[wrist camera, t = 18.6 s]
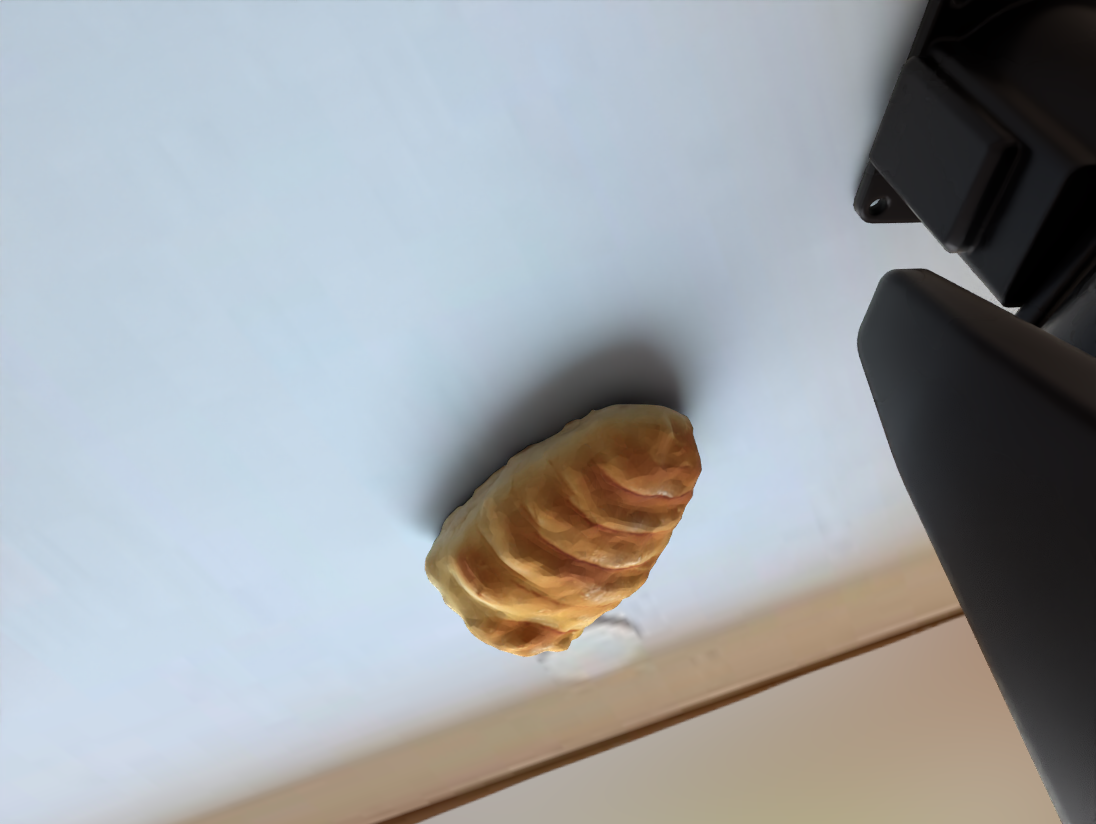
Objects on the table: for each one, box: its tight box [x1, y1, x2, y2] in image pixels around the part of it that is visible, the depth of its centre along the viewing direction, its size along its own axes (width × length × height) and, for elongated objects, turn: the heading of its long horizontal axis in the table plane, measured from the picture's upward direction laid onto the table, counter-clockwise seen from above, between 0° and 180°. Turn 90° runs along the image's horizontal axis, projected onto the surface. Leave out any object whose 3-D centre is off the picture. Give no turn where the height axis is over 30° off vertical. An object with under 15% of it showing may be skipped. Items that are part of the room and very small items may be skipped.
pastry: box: [425, 404, 702, 657], centre depth 31 cm, size 9×7×4 cm
